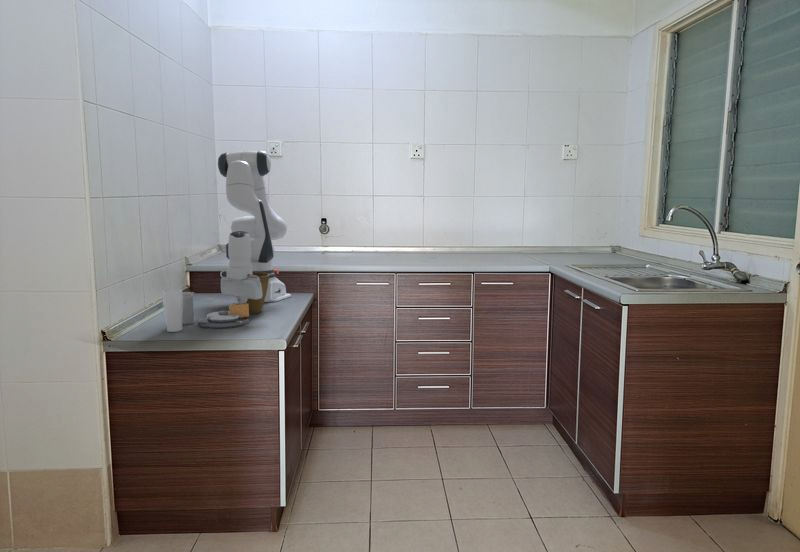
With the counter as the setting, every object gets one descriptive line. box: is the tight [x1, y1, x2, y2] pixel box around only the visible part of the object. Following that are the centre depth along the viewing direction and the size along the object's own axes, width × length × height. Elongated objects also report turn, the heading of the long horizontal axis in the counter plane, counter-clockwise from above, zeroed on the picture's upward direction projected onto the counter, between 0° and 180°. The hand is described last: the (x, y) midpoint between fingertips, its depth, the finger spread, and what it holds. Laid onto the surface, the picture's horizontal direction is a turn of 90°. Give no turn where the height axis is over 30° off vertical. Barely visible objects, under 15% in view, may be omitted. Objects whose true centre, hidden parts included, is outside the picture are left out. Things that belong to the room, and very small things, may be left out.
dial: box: [206, 303, 250, 323], centre depth 225 cm, size 16×12×5 cm
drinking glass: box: [162, 288, 184, 333], centre depth 211 cm, size 7×7×15 cm
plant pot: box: [246, 273, 269, 315], centre depth 244 cm, size 15×15×16 cm
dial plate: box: [197, 316, 250, 330], centre depth 225 cm, size 19×19×2 cm
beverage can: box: [182, 291, 195, 326], centre depth 223 cm, size 6×6×12 cm
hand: (242, 308), depth 230 cm, fingers closed
